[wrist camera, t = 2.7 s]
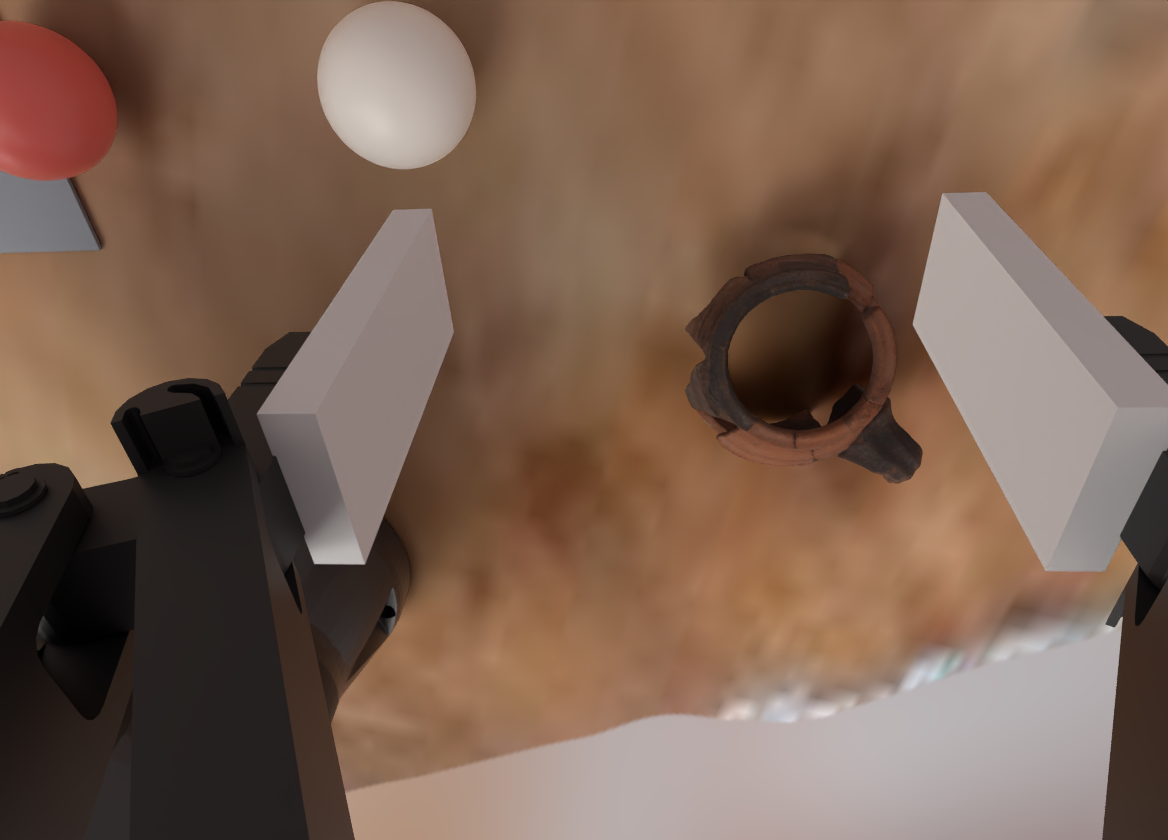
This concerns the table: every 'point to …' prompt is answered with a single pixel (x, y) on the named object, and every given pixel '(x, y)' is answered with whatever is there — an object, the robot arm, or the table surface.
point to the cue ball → (396, 85)
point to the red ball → (51, 105)
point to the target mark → (43, 217)
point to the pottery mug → (853, 426)
